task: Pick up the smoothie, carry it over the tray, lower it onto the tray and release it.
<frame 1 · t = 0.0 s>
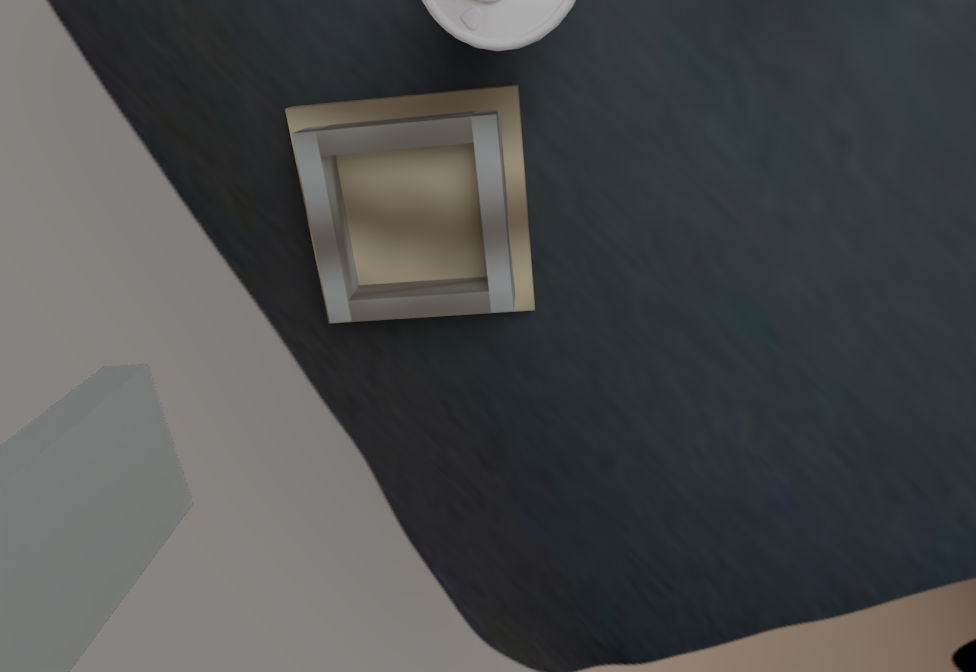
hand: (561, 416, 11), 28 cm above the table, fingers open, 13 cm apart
tray: (418, 209, 38), on the table
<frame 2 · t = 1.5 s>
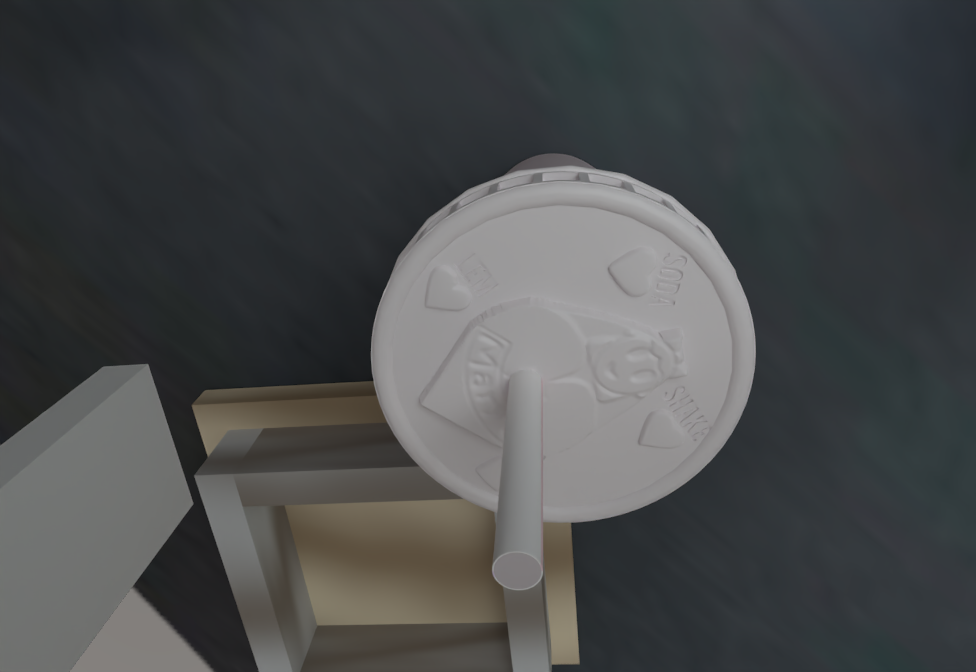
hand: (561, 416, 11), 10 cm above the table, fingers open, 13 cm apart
tray: (405, 525, 25), on the table
smoothie: (551, 216, 20), on the table
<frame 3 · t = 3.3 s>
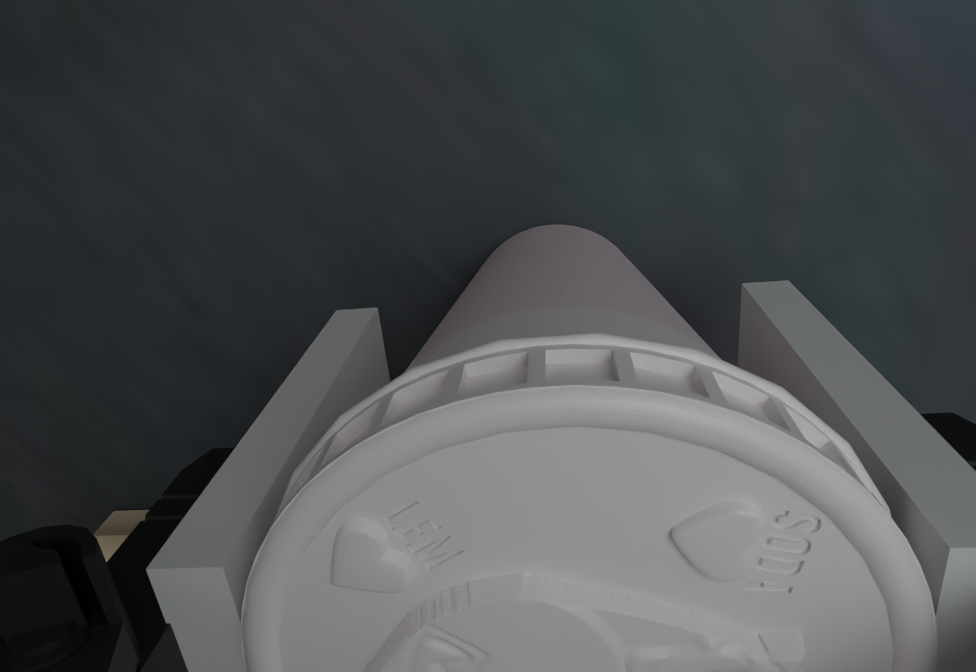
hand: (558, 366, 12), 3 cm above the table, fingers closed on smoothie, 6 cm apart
tray: (371, 671, 20), on the table
smoothie: (556, 303, 15), on the table, touching gripper
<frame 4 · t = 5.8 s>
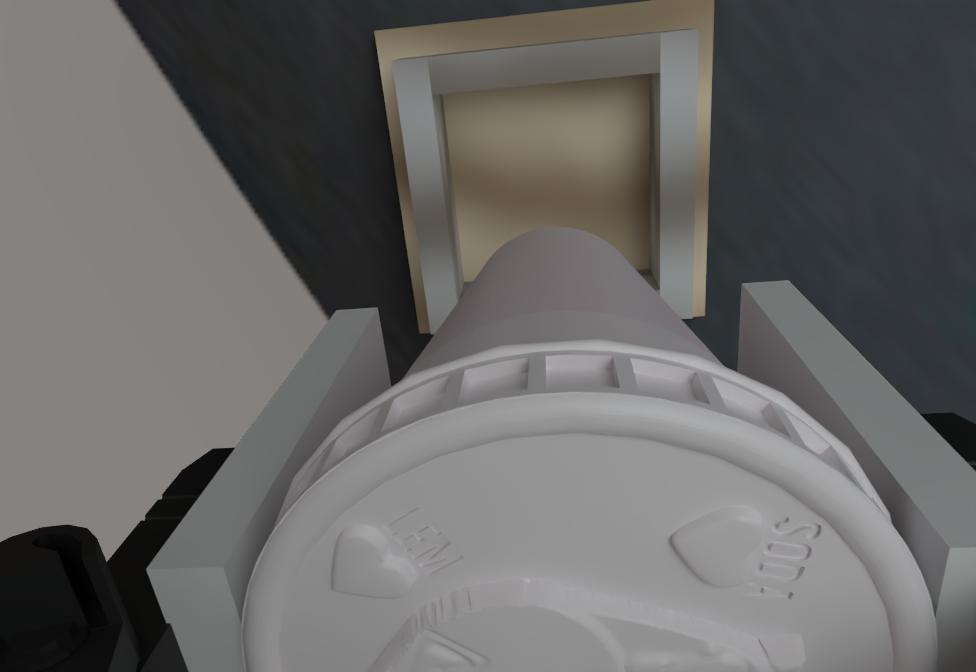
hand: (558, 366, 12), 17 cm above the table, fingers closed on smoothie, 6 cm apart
tray: (550, 177, 28), on the table
smoothie: (556, 305, 15), point 14 cm above the table, touching gripper
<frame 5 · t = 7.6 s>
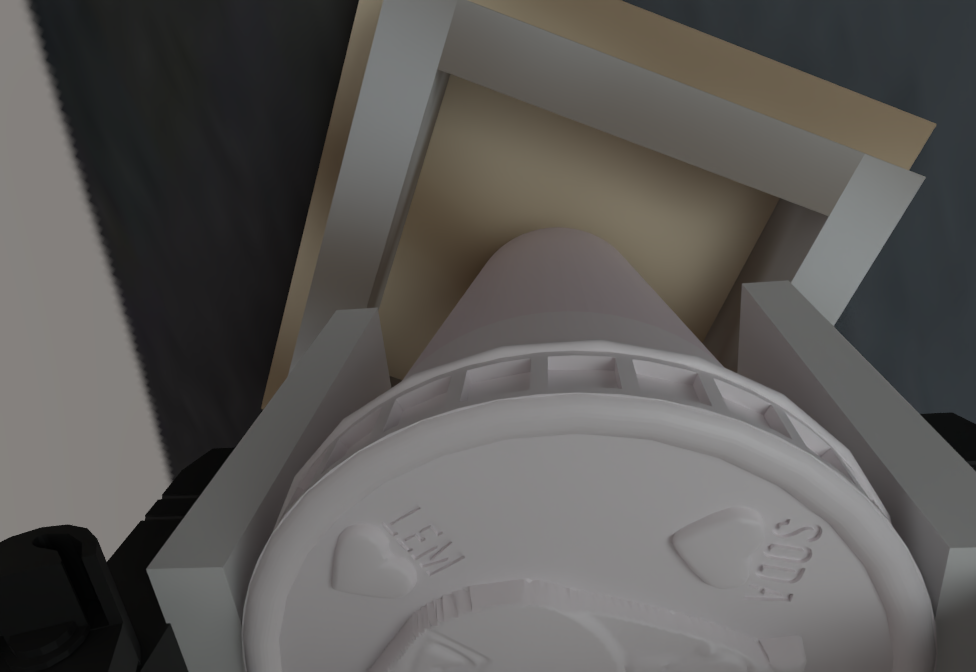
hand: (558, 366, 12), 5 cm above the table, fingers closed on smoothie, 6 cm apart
tray: (556, 270, 17), on the table
smoothie: (556, 306, 15), point 2 cm above the table, touching gripper
when the fingers open (4 cm above the table, at t = 8.7 s): smoothie stays where it is, resting on tray.
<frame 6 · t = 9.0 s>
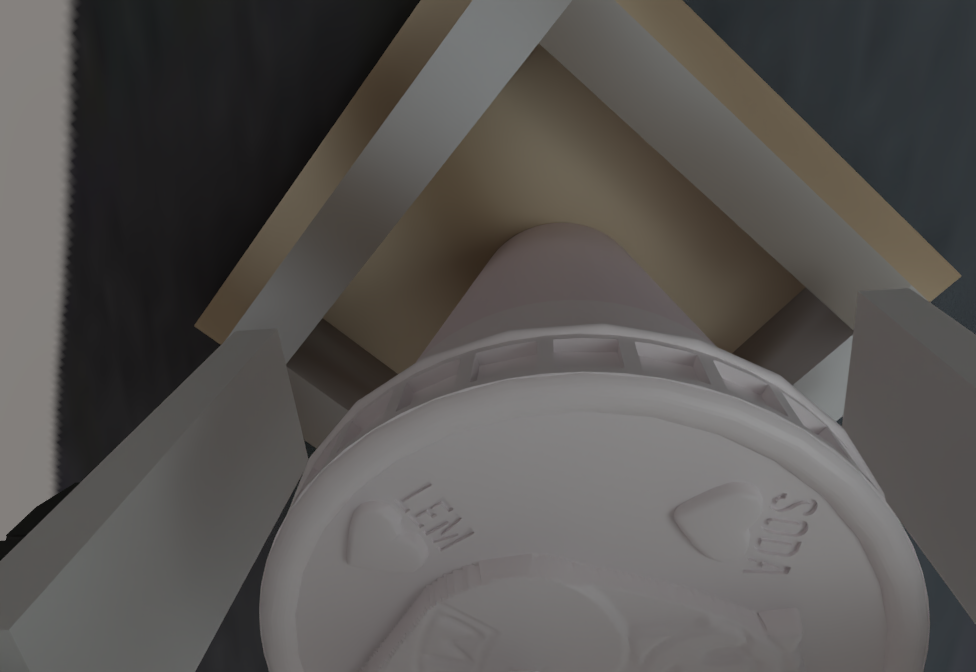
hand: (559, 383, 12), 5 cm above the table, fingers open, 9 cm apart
tray: (554, 287, 16), on the table
smoothie: (559, 300, 16), point 1 cm above the table, touching tray
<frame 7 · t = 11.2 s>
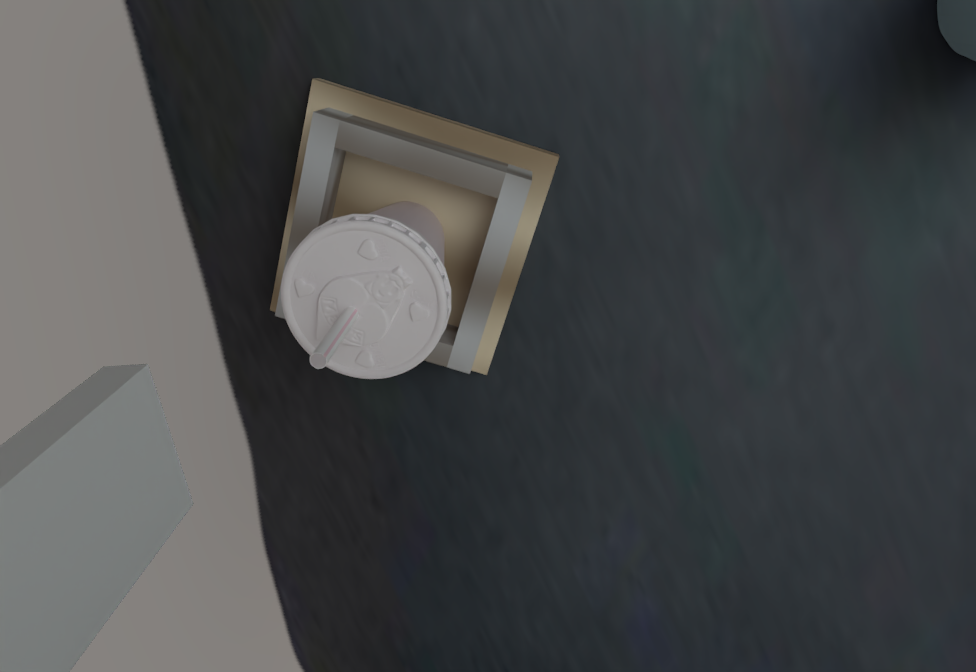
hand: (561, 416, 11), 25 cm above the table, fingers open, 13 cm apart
tray: (409, 233, 35), on the table
smoothie: (408, 236, 35), point 1 cm above the table, touching tray
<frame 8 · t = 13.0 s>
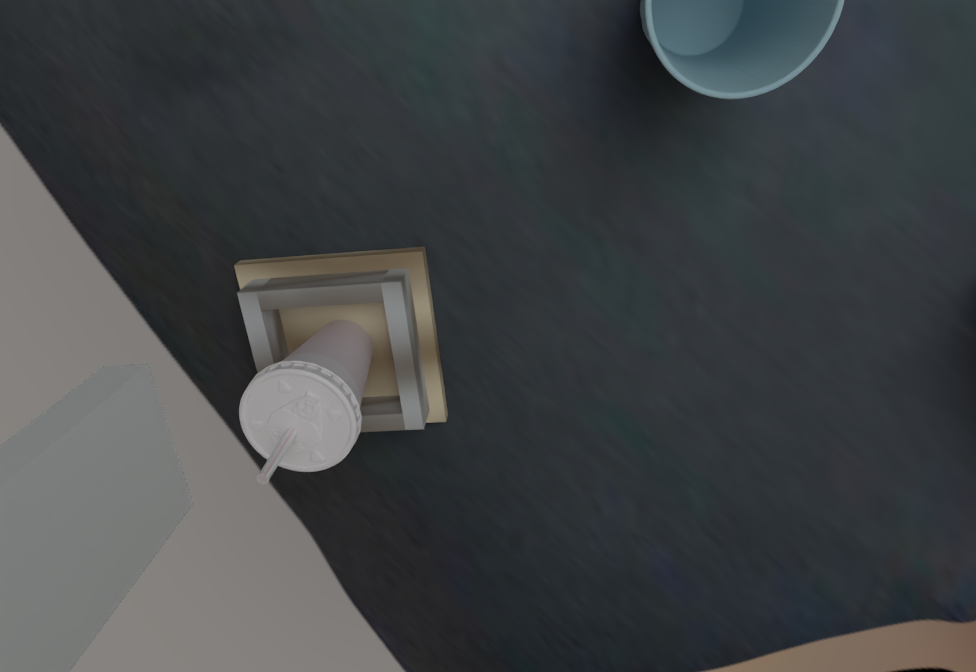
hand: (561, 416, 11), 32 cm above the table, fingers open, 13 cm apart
tray: (348, 340, 46), on the table
cup: (691, 5, 37), on the table
smoothie: (346, 344, 45), point 1 cm above the table, touching tray
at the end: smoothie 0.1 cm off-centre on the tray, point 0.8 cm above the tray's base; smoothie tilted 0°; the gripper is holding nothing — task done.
